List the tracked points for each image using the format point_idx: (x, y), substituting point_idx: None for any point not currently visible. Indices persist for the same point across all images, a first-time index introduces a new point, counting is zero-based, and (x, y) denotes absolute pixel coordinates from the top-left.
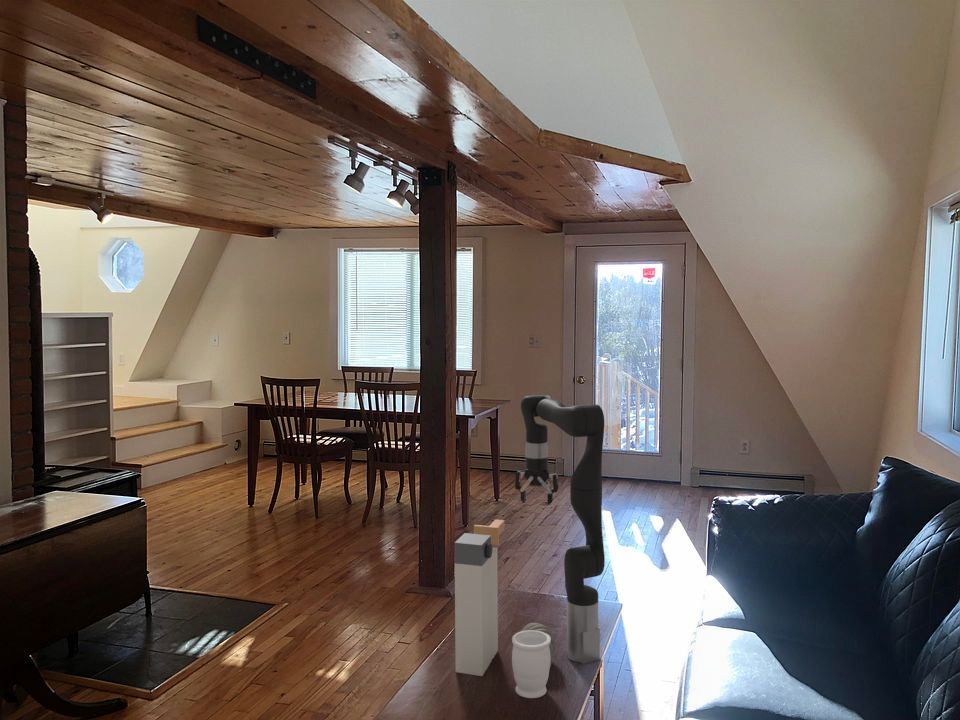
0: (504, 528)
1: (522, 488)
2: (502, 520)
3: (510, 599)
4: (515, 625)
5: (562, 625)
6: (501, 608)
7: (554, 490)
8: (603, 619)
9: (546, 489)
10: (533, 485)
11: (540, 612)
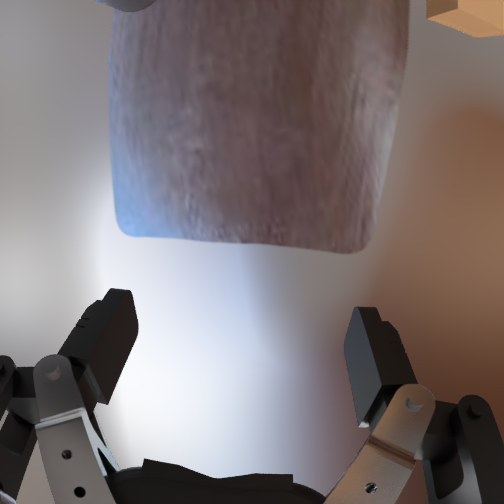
0: (429, 18)
1: (415, 418)
2: (468, 2)
3: (333, 207)
4: (299, 71)
5: (194, 97)
6: (347, 155)
7: (2, 372)
8: (120, 153)
9: (74, 403)
10: (259, 476)
11: (255, 151)
